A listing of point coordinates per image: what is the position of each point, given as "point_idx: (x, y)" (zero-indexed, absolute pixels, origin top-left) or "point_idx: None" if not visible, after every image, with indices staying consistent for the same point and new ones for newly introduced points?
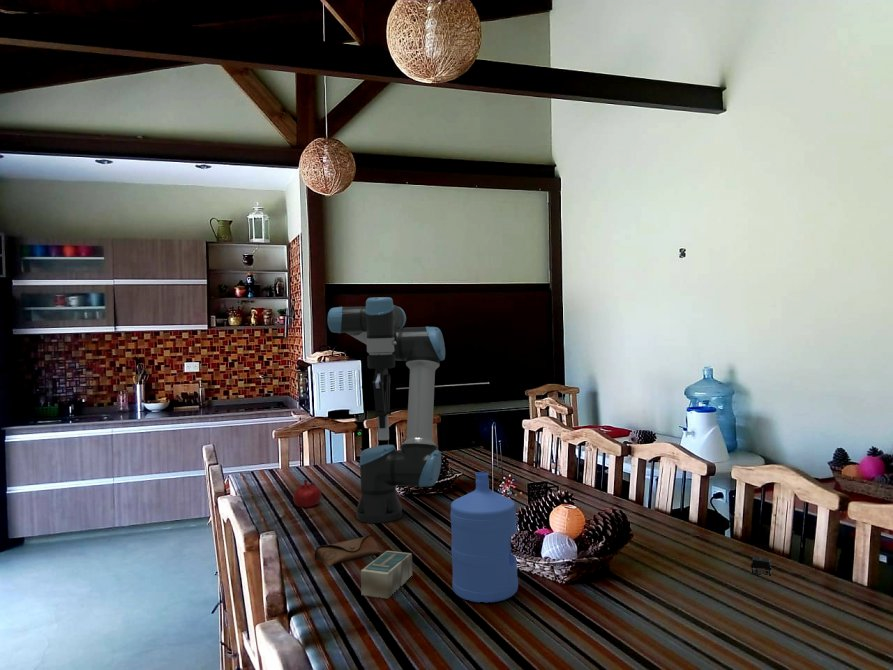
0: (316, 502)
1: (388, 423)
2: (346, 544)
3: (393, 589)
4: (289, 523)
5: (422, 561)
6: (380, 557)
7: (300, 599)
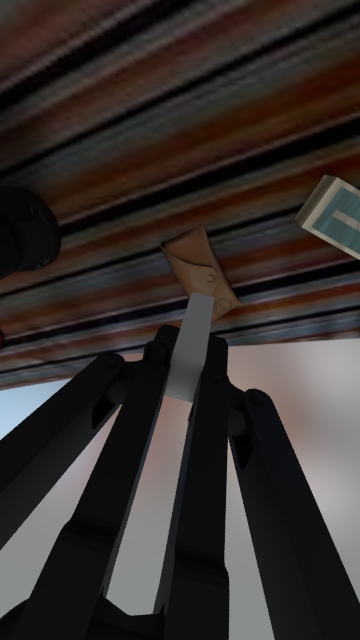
0: None
1: (183, 328)
2: (203, 287)
3: None
4: (67, 351)
5: (260, 151)
6: (337, 239)
7: (343, 332)
